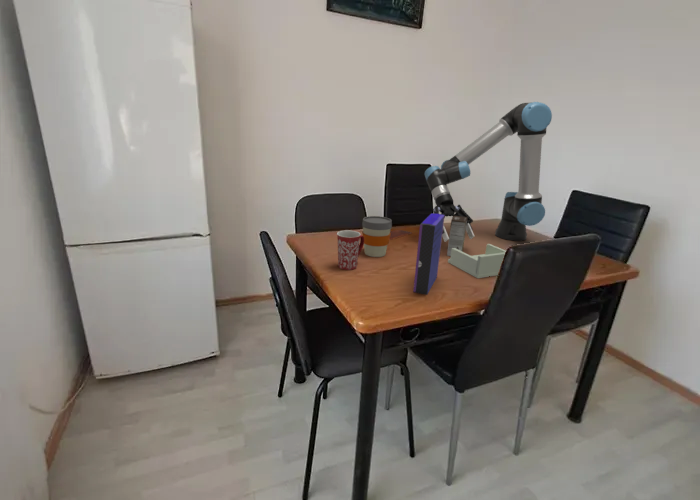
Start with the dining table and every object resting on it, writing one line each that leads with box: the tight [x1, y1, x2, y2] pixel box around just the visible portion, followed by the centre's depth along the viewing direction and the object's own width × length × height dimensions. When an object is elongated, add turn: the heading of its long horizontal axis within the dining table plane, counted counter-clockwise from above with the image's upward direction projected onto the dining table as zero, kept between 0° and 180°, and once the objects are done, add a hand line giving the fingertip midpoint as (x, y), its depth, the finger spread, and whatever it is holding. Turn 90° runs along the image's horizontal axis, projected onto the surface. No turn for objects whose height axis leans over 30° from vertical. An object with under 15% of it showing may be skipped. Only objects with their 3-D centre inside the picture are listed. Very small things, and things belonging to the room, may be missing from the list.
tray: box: [447, 243, 507, 279], centre depth 159 cm, size 20×18×8 cm
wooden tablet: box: [389, 229, 413, 241], centre depth 197 cm, size 27×10×2 cm, turn 132°
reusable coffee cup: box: [361, 215, 393, 258], centre depth 168 cm, size 13×13×15 cm
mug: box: [336, 229, 364, 271], centre depth 154 cm, size 13×9×14 cm
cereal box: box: [412, 212, 446, 296], centre depth 138 cm, size 17×5×24 cm, turn 157°
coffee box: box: [446, 216, 468, 257], centre depth 172 cm, size 9×6×16 cm
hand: (459, 239), depth 171 cm, fingers open, 13 cm apart
